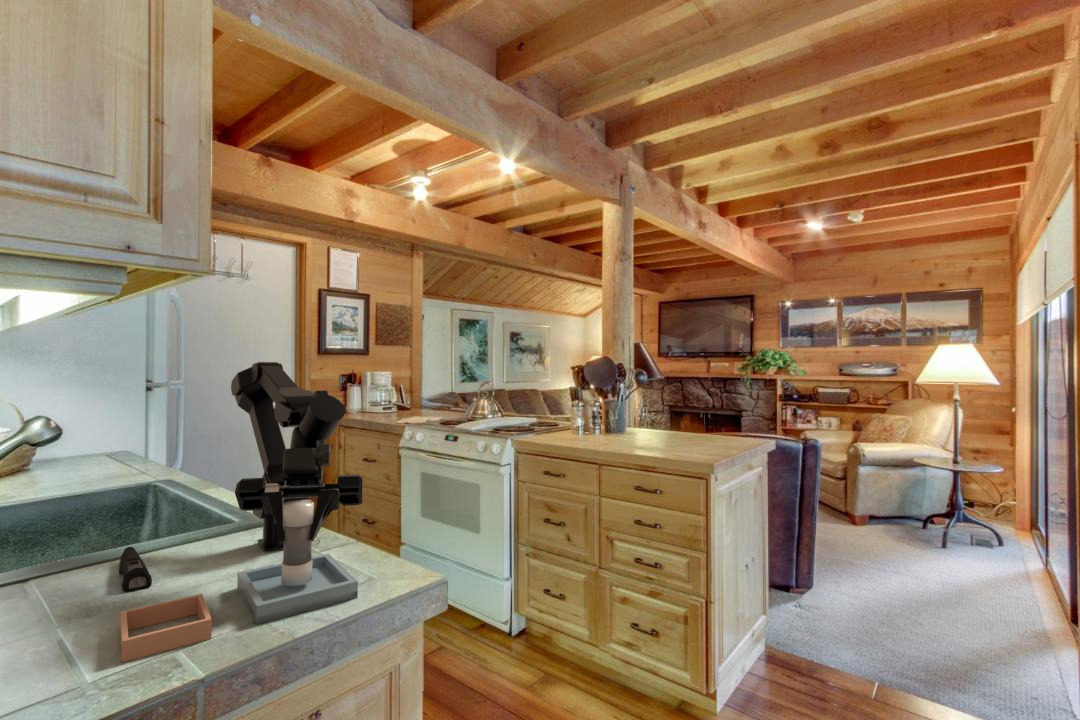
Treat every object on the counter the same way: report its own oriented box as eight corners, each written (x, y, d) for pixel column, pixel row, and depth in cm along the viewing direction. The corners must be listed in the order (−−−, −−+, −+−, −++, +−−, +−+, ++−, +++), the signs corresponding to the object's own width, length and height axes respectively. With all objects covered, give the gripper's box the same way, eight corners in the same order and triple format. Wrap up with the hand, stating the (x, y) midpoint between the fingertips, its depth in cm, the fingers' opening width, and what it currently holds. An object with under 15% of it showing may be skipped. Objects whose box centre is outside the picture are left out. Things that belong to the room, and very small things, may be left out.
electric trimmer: (142, 560, 96) (143, 543, 96) (152, 589, 84) (153, 569, 84) (115, 565, 93) (116, 547, 93) (122, 596, 82) (122, 575, 82)
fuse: (277, 578, 84) (279, 502, 84) (307, 572, 87) (309, 498, 87) (285, 588, 80) (287, 508, 80) (315, 581, 83) (317, 504, 83)
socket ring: (120, 630, 71) (120, 611, 71) (201, 611, 77) (202, 593, 77) (121, 662, 64) (122, 641, 64) (211, 638, 70) (211, 619, 70)
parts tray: (237, 588, 85) (237, 572, 85) (328, 567, 93) (328, 553, 93) (256, 624, 74) (256, 606, 74) (357, 597, 82) (357, 581, 82)
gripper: (239, 427, 84) (217, 519, 74) (364, 426, 90) (360, 511, 79) (249, 467, 92) (231, 555, 82) (363, 463, 97) (360, 545, 87)
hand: (296, 541), depth 82 cm, fingers closed on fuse, 4 cm apart
